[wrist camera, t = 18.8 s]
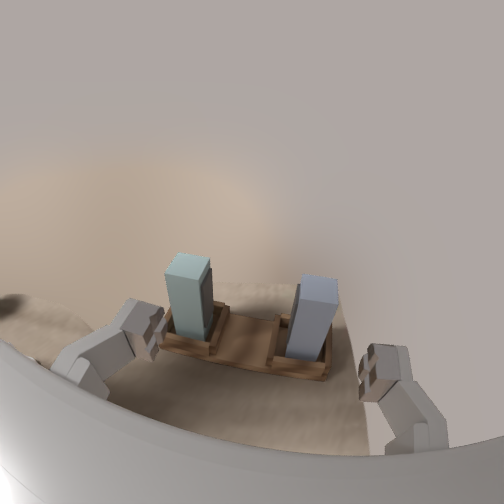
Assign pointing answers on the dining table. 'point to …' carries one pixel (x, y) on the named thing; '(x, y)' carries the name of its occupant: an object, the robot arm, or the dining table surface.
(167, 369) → the dining table surface
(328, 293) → the block
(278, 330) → the wooden double tray
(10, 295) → the dining table surface
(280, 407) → the dining table surface
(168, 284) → the teal rectangular block
